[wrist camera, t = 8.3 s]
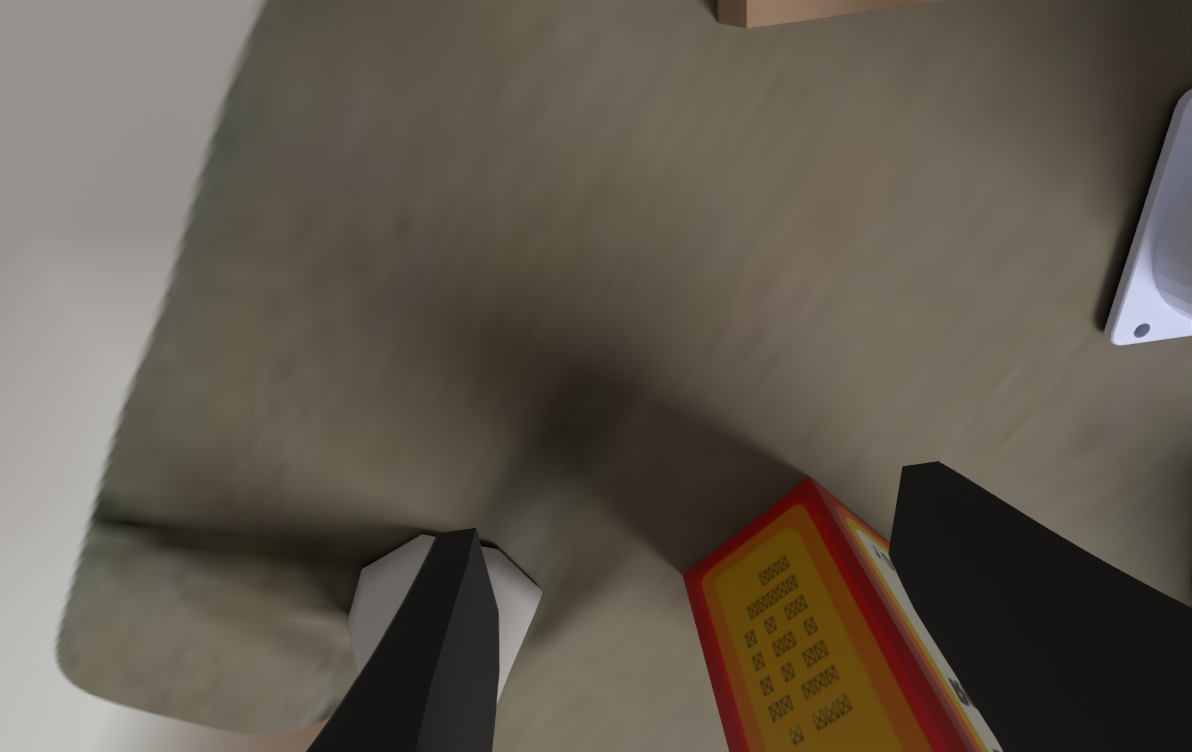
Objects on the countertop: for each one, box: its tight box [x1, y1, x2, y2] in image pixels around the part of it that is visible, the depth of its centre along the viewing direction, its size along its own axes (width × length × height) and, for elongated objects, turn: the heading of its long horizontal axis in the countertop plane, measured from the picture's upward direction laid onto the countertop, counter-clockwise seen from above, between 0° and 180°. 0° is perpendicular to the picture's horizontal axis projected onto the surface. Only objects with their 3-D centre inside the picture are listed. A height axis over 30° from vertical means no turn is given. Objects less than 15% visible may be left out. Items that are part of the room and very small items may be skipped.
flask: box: [348, 534, 543, 702], centre depth 22 cm, size 7×7×10 cm
